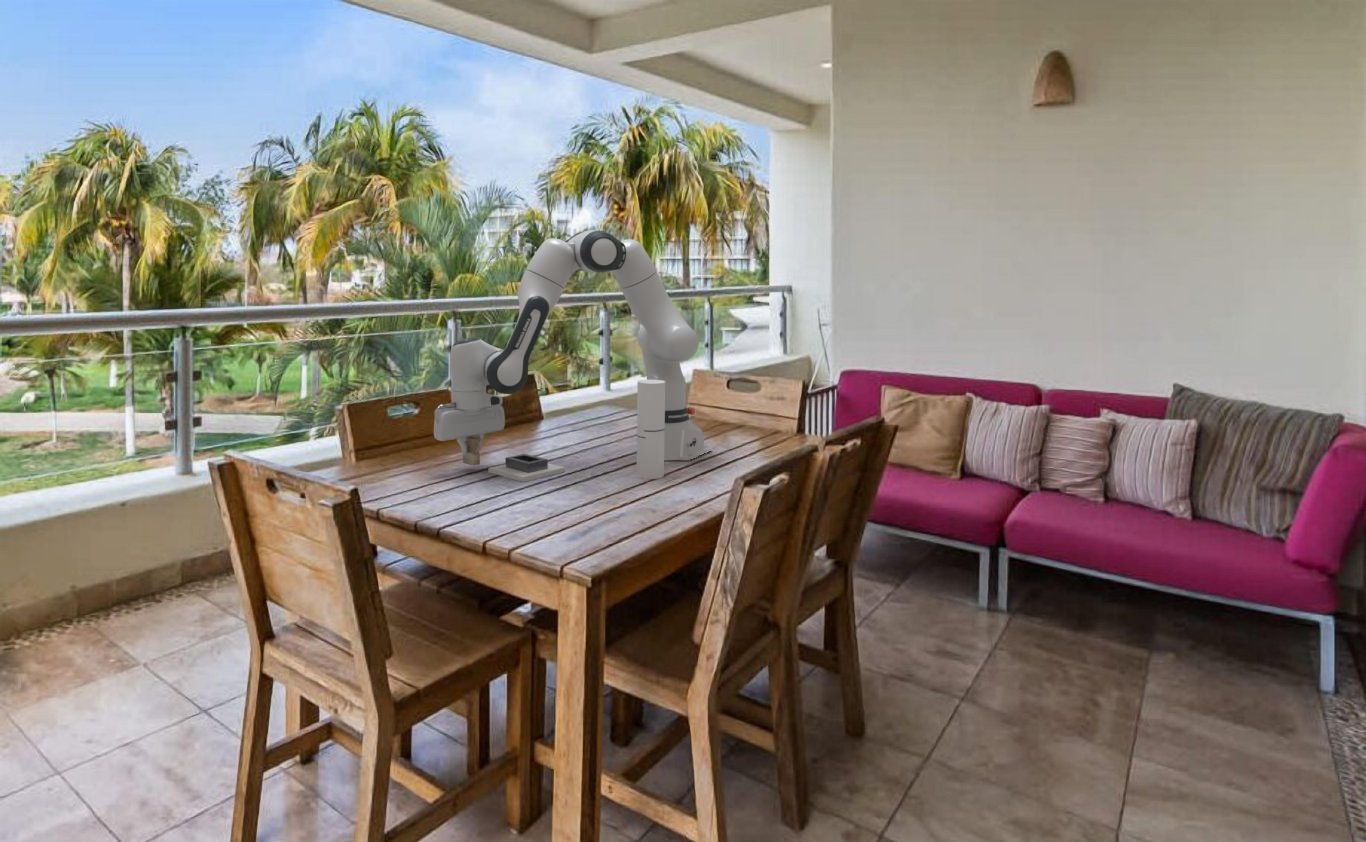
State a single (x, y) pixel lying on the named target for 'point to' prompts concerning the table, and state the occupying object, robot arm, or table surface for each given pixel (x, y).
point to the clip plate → (525, 476)
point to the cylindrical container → (650, 428)
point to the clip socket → (526, 463)
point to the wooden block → (472, 451)
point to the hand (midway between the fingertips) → (471, 452)
